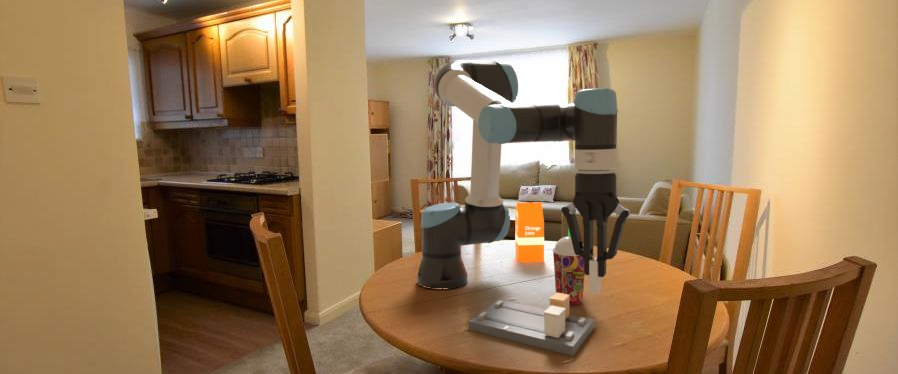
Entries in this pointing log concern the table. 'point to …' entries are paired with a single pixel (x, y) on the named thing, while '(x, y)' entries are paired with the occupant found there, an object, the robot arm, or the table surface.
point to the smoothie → (568, 270)
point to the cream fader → (554, 321)
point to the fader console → (531, 327)
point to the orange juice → (529, 232)
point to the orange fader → (561, 301)
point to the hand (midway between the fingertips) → (595, 291)
